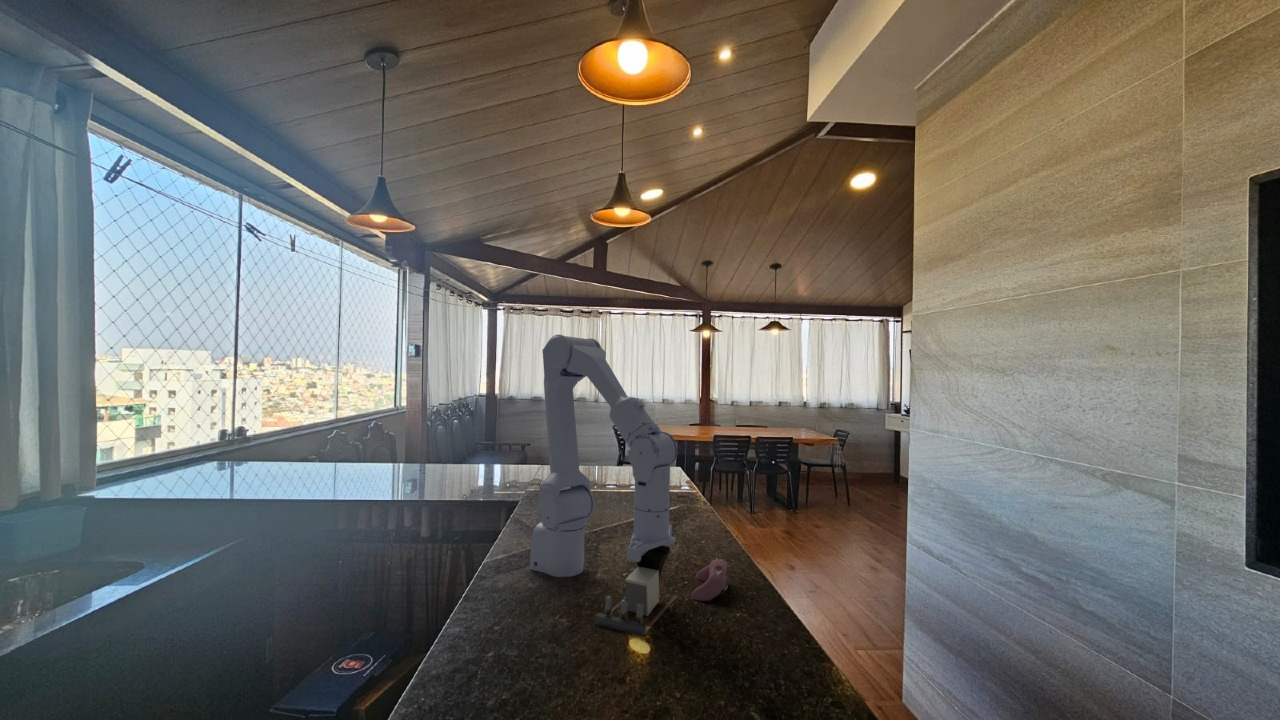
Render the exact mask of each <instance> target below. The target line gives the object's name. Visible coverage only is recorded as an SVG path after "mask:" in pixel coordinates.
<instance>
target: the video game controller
mask: <svg viewBox="0 0 1280 720" xmlns="http://www.w3.org/2000/svg"><path fill="white" fill-rule="evenodd" d="M728 566H729V563H728V562H726V560H724V559H718V557H716V559H713V560H712V561H711V562H710V563H709V564H707V565H706V566H705V567H703V568H702V569H700V570H699V571H698V572H696V574H695V576H694V580H697V581H702V582H703V583H702V584H701V585H699V586H698V587H696V588H695V589H694V590H693V591H692V592H691V595H690V598H691V599H692V600H695V601H696V600H697V601H703V602H709V601H711V600H713V599H714V598H716V597H718V596H720V594H721V593H722V591H723V592H725V591H727V589H728V584H727V583H726V582H727V580H728V579H727V578H728V576H727V575H726V573H727V569H728Z"/></svg>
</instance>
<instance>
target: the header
mask: <svg viewBox="0 0 1280 720" xmlns="http://www.w3.org/2000/svg"><path fill="white" fill-rule="evenodd" d="M604 600H605V602H604V603H605V605H604V613H601V612H598V613H596V614H594V625H597V626H601V627H605V628H609V629H613V630H617V631H621V632H625V633H628V634H631V635H632V634H633V635H637V636H640V637H644V636H645V634H646V633H647V632H646V626H647V624H645V623H644V615H643V606H644V604H643V603H641V602H639V603H637V606H636V613H635V615H636V616H635V621H634V620H629V619H628V611H627V608H628V600H627V599H623V598H621V599H620V601H621V605H620V615H619V617H617V616H613V612H612V608H613V596H612V595H611V594H610V595H606V596H605V599H604Z"/></svg>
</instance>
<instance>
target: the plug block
mask: <svg viewBox="0 0 1280 720" xmlns="http://www.w3.org/2000/svg"><path fill="white" fill-rule="evenodd" d="M625 597H626V599H627V600H628V608H627V612H630V613H631V612H632V613H635V614H636V606H637V603H639V602H641V603H643V604H644V606H643V616H646V617H647V616H649V615H650V614H651V612H652V611H653V610H654V608H655V607H656V606H657V605H658V603H659V602H660V582H659V570H654V569H649V568H644V567H638V566H637V567H636V568H635V569H634V570H633V571H632V572H631V573H630V574H629V575H628V576H626V578H625Z"/></svg>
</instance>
